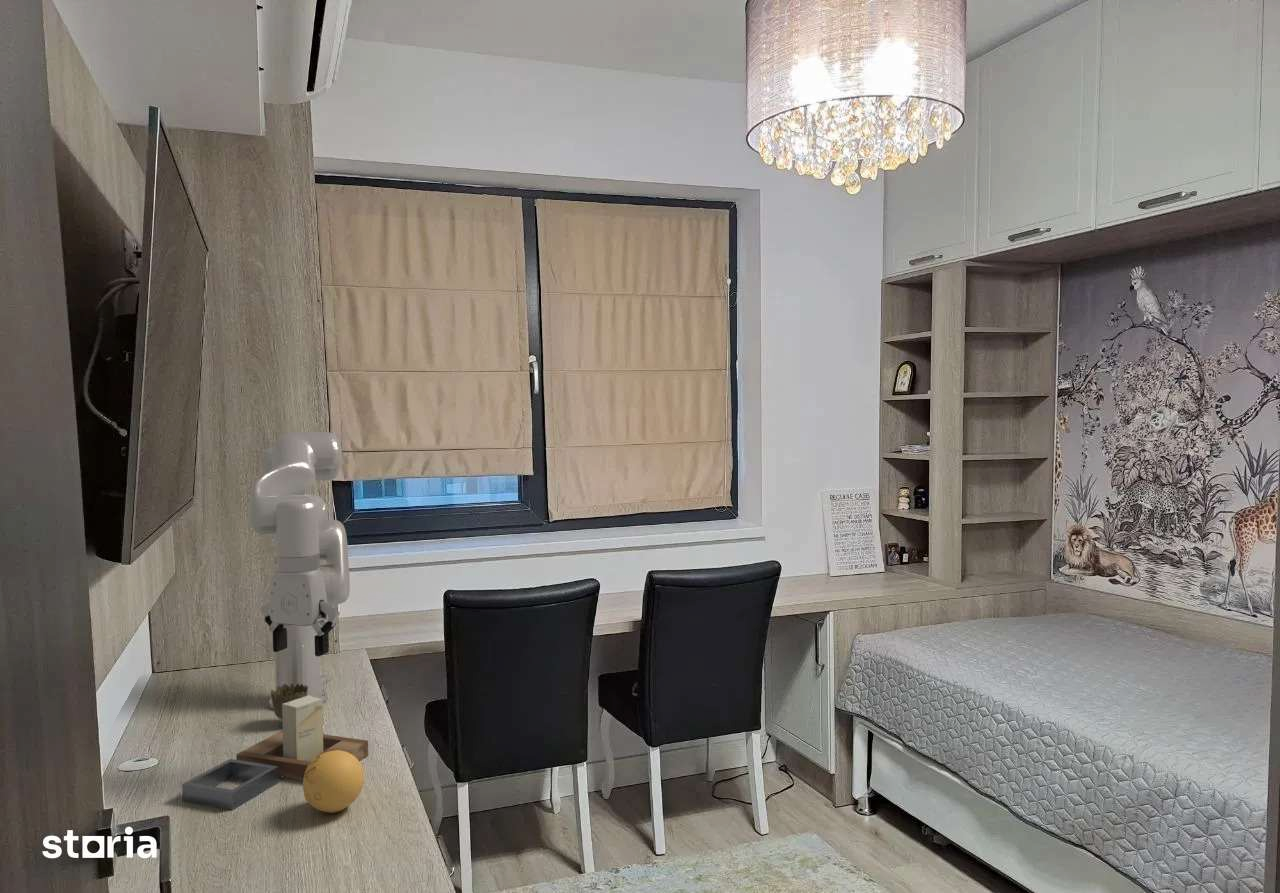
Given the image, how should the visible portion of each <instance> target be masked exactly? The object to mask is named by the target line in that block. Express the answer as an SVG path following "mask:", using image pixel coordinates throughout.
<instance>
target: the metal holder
mask: <svg viewBox="0 0 1280 893" xmlns="http://www.w3.org/2000/svg"><path fill="white" fill-rule="evenodd" d="M231 778H233V779H239V780H244V782H242V783H241V784H240V785H238V786H236V787H234V788H233V789H230V788H225V787H224V788H223V787H219V785H220V784H222V783H223V782H226V781H227V780H229V779H231ZM279 778H280V777H279V773H278V766H272V765H266V764H260V763H253V762H247V761H241V760H237V759H233V758H230V759H227V760H226V761H224V762H222V763H220V764H218V765H216V766H214V767H212V768H210V769H208V770H207V771H204V772H203V773H201V774H198V775H196V776H195V777H193V778H191V779H189V780H187V781H186V782H185V781H184V783H182V784H181V793H182V794H181V796H182V800H181V801H182V802H186V803H192V804H197V805H203V806H208V807H214V808H220V809H223V810H224V809H225V810H231V811H234V810H235V809H237V808H239V807H240V806H243V805H244V804H245V803H247V802H249V801H251V800H252V799H254V798H256V797H257V796H259V795H260V794H262V793H264V792H266V791H267V790H268V788H269V789H270V788H272V787H274V786H275V785H277V784H278V782H280V780H279ZM276 783H277V784H276ZM274 784H275V785H274ZM273 785H274V786H273ZM217 786H218V787H217ZM266 789H267V790H266ZM258 794H259V795H258Z"/></svg>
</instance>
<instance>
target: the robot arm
mask: <svg viewBox="0 0 1280 893" xmlns="http://www.w3.org/2000/svg"><path fill="white" fill-rule="evenodd" d="M342 457H343V450H342V446H341V441H340V439H338V437H337V436H336V435H335V434H334V433H331V432H328V431H315V432H314V431H312V432H311V431H310V432H307V431H306V432H304V431H303V432H287V433H284V434H280V435H279V436H278V437H277V438H276V439H275V440H274V441H273V443H272V447H269V448H266V449H264V450H263V451H262V452H261V453H260V456H259V470H260V475H261V477H258V479H257V480H256V481H255V482H254V484H253V485H252V486H251V489H250V493H249V497H248V498H249V499H248V522H249V525H250V527H251V529H252V531H254V532H255V533H256V534H259V535H273V537H274V538H273V540H274V550H275V554H276V556H275V557H274V559H273V563H274V564H277V566H276V567H277V570H275V571H274V572H273V573H272V575H271V576H270V578H269V580H268V592H269V598H270V600H269V602H267V603H266V604H264V605H262V606H261V607H260V610H261V612H262V615H263V617H264V621H265V623H266V624H267V625H268V626H269V628H268V629H269V631H270V632H272V651H273V653H274V661H275V662H274V665H275V667H274V668H275V669H274V670H275V688H276V687H277V686H280V687H281V686H282V685H284V684H286V685H288V686H289V687H290V685H291V684H292V683H293V684H294V687H295V686H296V684H298V683H299V684H300V685H301V684H303V686H304V687H305V685H307V686H308V693H307V696H308V695H311V696H314V697H318V698H321V699H322V704H323V703H325V701H326V700H327V699H328V691H326V690H324V689H323V687H324V685H326V684H328V683H329V682H331V681H332V680H333V676H332V674H330V673H327V674H325V675H322V676H320V675H321V674H320V673H321V670H320V669H321V668H320V657H322V656H323V655H326V654H328V653H329V650H330V636H329V635H330V634H329V633H331V632H332V631H333V629H334V628H335V626H336V625H337V622H338V619H339V617H340V615H341V614H340V611H339V610H337V609H336V608H335V607H333V606H334V605H341V604H343V603H345V602H347V600H348V599H349V596H350V591H351V590H350V589H351V581H350V568H349V566H350V565H349V563H350V562H349V551H348V538H347V532H346V528H345V526H344V524H343V523H342V521H340V520H337V519H327V518H328V508H327V503H326V502H325V501H324V499H323V498H322V497H321V496H319V495H317V494H313V493H312V494H307V493H306V492H308V491H309V490H310V489H311V488H312V486H313V485H314V484H315V482H316V481H317V482H318V481H319V482H320V481H332V480H333V479H336V477H337V476H338V474H339V472H340V467H341V465H342V459H343V458H342ZM320 561H325V562H326V563H327V564H320ZM327 617H328V618H327ZM268 706H269V707H270V708H271V709H273V703H272V696H271V697H270V698H269V700H268Z"/></svg>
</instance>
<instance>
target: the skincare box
mask: <svg viewBox="0 0 1280 893" xmlns="http://www.w3.org/2000/svg"><path fill="white" fill-rule="evenodd" d="M282 716H283V725H282V730H283V757H284V758H290V759H297V760H303V761H308V760H310V759H312V758H313V757H315V756H317V755H318V754H320V753H322V752H323V734H324V721H323V720H324V717H323V716H324V712H323V703H322V699H321V698H318V697H314V696H311V695H308V696H305V697H302V698H299V699H295V700H293V701H290V702H287V703H283V704H282Z"/></svg>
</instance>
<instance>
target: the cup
mask: <svg viewBox="0 0 1280 893" xmlns="http://www.w3.org/2000/svg"><path fill="white" fill-rule="evenodd" d="M307 693H308V686H307V685H305V687H304V686H303V684H301V685H300V684H299V683H298V684H296V686H295V687H294V684H293V683H292V684H291V685H290V687H289V686H288V685H286V684H284V685H282V686H281V687H280V686H277V687H276V686H275V690H273V689H271V691H270V695H271V697H272V703H273V708H272V709H273V712H274V714H275V716H276V717H277V718H278V719H280V721H281V722H280V723H281V726H283V716H282V704H283V703H287V702H290V701H293V700H295V699H299V698H302V697H305V696H307Z"/></svg>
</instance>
